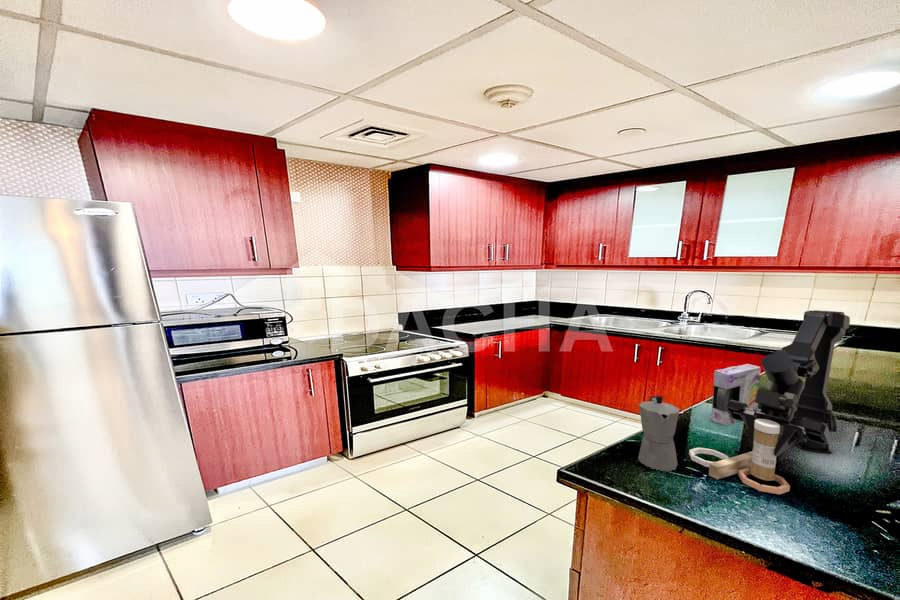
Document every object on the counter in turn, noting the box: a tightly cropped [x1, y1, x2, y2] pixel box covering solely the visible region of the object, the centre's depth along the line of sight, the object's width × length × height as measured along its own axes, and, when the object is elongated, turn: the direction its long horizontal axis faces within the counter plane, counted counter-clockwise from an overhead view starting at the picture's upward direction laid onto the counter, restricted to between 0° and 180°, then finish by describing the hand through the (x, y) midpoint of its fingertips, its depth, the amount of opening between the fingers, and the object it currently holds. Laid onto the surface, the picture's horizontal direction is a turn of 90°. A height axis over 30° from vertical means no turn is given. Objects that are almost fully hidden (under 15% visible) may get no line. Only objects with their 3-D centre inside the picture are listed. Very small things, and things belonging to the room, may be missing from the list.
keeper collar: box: [737, 468, 791, 495], centre depth 89 cm, size 9×9×1 cm
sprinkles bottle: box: [750, 419, 781, 482], centre depth 88 cm, size 5×5×14 cm
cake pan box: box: [711, 363, 761, 426], centre depth 125 cm, size 19×5×18 cm, turn 114°
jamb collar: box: [688, 447, 730, 468], centre depth 99 cm, size 9×9×1 cm
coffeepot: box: [637, 395, 681, 472], centre depth 99 cm, size 15×9×18 cm, turn 162°
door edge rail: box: [708, 451, 753, 480], centre depth 94 cm, size 16×2×3 cm, turn 111°
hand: (762, 451), depth 87 cm, fingers closed on sprinkles bottle, 4 cm apart
